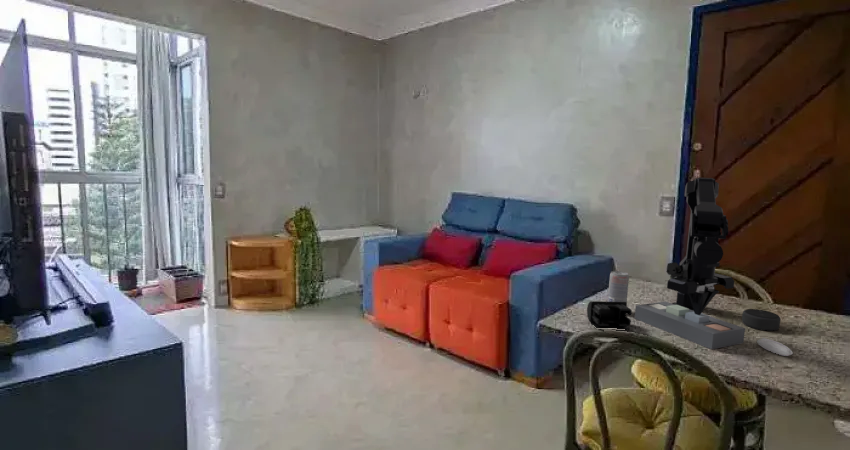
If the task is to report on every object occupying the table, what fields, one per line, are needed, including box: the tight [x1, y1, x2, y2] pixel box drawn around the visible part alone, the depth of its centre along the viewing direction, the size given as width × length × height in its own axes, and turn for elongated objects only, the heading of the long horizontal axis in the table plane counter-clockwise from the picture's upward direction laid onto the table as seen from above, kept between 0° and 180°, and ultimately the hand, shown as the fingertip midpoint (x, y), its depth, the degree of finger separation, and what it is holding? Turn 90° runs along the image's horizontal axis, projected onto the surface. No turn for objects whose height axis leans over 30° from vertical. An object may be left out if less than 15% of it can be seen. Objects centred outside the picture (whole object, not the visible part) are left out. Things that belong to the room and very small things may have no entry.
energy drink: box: [607, 270, 630, 303], centre depth 145 cm, size 5×5×12 cm
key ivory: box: [649, 304, 666, 310], centre depth 139 cm, size 4×4×2 cm
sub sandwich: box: [756, 337, 793, 357], centre depth 118 cm, size 3×8×3 cm, turn 16°
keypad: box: [634, 301, 746, 350], centre depth 131 cm, size 12×24×4 cm, turn 23°
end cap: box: [586, 300, 633, 331], centre depth 133 cm, size 10×7×7 cm
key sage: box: [666, 305, 689, 316], centre depth 134 cm, size 4×4×2 cm
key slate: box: [685, 312, 710, 324], centre depth 128 cm, size 4×4×2 cm
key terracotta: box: [706, 324, 731, 331], centre depth 123 cm, size 4×4×2 cm
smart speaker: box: [741, 308, 781, 332], centre depth 136 cm, size 9×9×4 cm
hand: (697, 314), depth 128 cm, fingers closed, pressing on key slate
